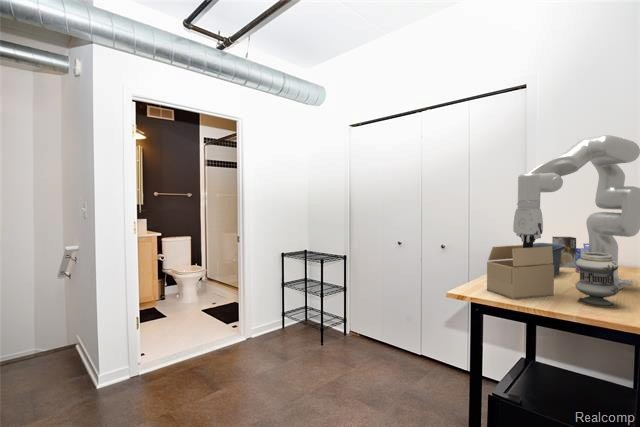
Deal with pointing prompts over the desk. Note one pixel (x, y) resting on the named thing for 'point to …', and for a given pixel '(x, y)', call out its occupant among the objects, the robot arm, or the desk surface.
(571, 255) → the coffee box
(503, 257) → the back flap
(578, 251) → the ink cartridge box
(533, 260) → the front flap
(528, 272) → the carton
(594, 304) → the apothecary jar
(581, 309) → the desk surface
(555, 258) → the storage bin
